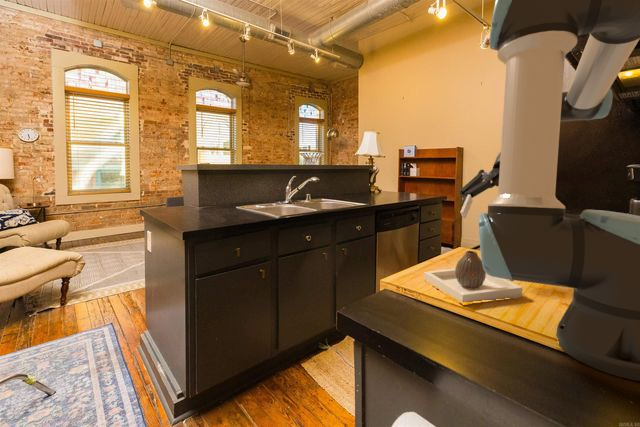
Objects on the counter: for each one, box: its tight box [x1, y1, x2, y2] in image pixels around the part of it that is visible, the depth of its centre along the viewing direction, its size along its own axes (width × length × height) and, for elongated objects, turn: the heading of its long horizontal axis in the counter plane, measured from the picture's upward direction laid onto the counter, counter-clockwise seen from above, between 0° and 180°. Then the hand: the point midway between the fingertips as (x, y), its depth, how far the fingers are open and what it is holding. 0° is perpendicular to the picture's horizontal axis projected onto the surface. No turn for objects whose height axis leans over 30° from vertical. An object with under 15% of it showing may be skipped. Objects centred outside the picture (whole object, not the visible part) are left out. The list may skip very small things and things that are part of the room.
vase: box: [454, 250, 486, 289], centre depth 80 cm, size 7×7×9 cm
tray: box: [423, 268, 524, 302], centre depth 81 cm, size 16×16×2 cm
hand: (488, 218), depth 86 cm, fingers open, 13 cm apart
